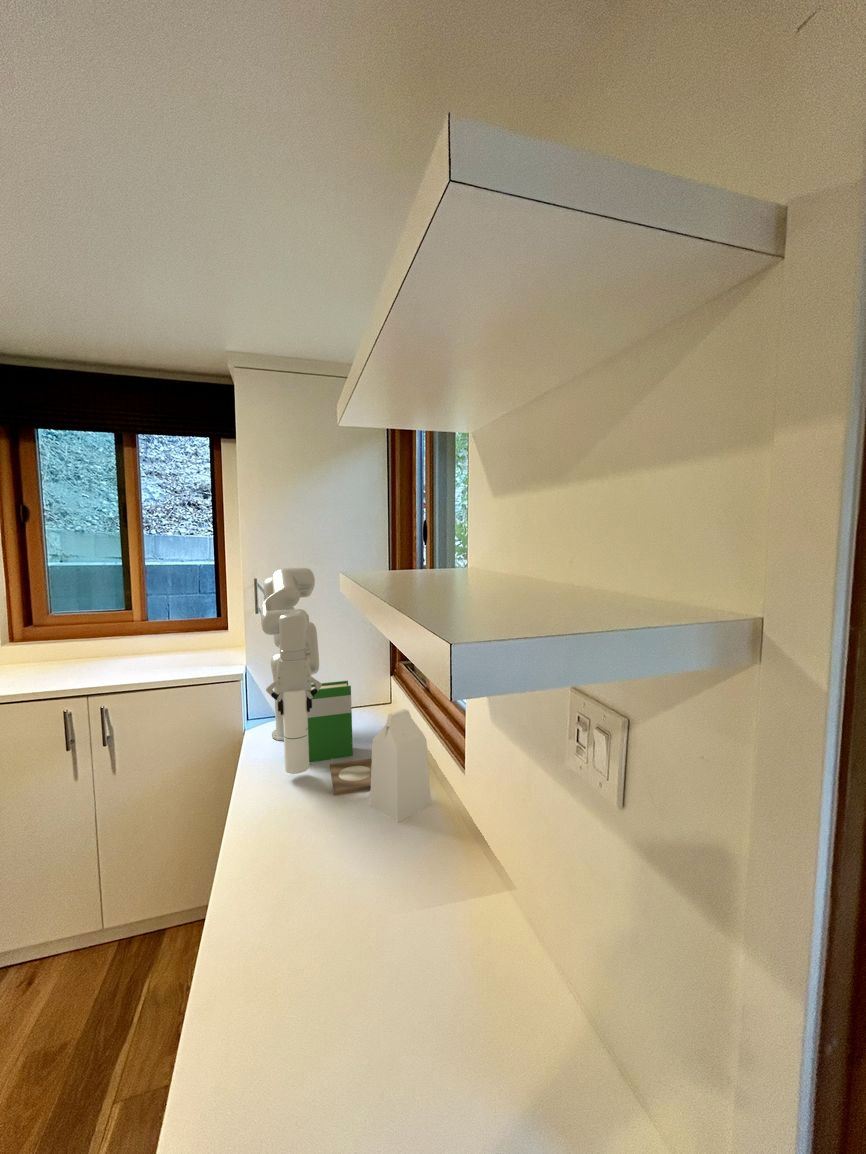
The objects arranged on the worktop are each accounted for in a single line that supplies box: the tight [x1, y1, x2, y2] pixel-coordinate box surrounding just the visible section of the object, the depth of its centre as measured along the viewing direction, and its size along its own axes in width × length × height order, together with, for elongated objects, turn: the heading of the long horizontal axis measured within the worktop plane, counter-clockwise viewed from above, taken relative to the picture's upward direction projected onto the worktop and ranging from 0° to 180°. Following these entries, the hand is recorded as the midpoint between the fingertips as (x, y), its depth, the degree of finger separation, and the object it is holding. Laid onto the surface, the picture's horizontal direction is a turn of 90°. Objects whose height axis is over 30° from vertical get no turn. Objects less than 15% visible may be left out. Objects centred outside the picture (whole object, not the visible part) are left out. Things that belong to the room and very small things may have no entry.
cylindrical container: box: [282, 690, 310, 775], centre depth 150 cm, size 7×7×25 cm
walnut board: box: [329, 758, 372, 796], centre depth 152 cm, size 18×14×1 cm
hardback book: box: [307, 680, 354, 763], centre depth 167 cm, size 18×7×24 cm, turn 108°
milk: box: [369, 708, 432, 823], centre depth 134 cm, size 12×12×26 cm
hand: (295, 711), depth 150 cm, fingers closed on cylindrical container, 7 cm apart
